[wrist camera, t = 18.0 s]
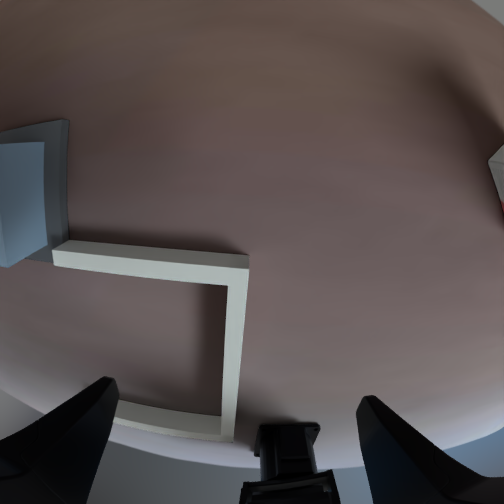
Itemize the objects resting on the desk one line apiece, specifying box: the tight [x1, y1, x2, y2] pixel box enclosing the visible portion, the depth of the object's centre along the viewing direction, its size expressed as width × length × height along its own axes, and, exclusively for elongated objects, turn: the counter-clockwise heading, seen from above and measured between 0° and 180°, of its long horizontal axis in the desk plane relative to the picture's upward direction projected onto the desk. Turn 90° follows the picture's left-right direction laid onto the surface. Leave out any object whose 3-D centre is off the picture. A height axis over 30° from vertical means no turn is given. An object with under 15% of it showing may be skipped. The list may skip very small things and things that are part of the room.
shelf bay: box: [52, 240, 249, 443], centre depth 21 cm, size 18×14×2 cm
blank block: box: [0, 142, 48, 268], centre depth 15 cm, size 4×8×5 cm, turn 175°
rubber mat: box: [0, 119, 69, 263], centre depth 18 cm, size 11×8×1 cm
